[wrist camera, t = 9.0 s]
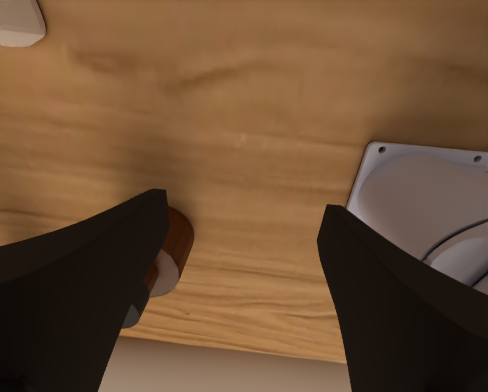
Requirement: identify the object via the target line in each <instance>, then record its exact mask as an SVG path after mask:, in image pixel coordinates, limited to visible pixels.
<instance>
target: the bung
mask: <svg viewBox="0 0 488 392" xmlns="http://www.w3.org/2000/svg"><path fill="white" fill-rule="evenodd" d="M149 298H150V293H149V290H148V288H147V286H146V285H145V284H144V283H143V282H142V284H141V286H140V287H139V289H138V291H137V293H136V295H135V297H134V300H133V302H132V304H131V307H130V309H129V311H128V314H127V316H126V318H125V321H124V323H123V326H122V328H121V329H124V328H130V327H132V326H134V325H136V324H137V323H138V321H139V319H140V317H141V315H142V313H143V311H144V309H145V306H146V304H147V302H148V300H149Z"/></svg>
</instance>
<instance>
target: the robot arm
mask: <svg viewBox="0 0 488 392" xmlns="http://www.w3.org/2000/svg"><path fill="white" fill-rule="evenodd" d="M380 147H383V150H382V151H380V152H378V150H379V148H380ZM476 156H477V158H476V159H475V160H473V159H474V158H475V157H476ZM169 228H170V222H169V213H168V203H167V194H166V190H161V189H151V190H148V191H146V192H143V193H141V194H139V195H137V196H135V197H133V198H131V199H129V200H127V201H125V202H123V203H121V204H119V205H117V206H115V207H113V208H111V209H108V210H106V211H104V212H102V213H100V214H97V215H95V216H93V217H91V218H88V219H86V220H83V221H81V222H78V223H76V224H73V225H70V226H67V227H65V228H62V229H59V230H56V231H53V232H50V233H46V234H43V235H40V236H36V237H33V238H30V239H26V240H23V241H19V242H15V243H11V244H8V245H4V246H0V392H98V389H99V386H100V384H101V381H102V378H103V375H104V372H105V369H106V367H107V364H108V361H109V359H110V356H111V353H112V351H113V348H114V345H115V343H116V340H117V338H118V335H119V333H120V331H121V328H122V326H123V323H124V321H125V318H126V316H127V314H128V311H129V309H130V307H131V304H132V302H133V300H134V297H135V295H136V293H137V291H138V289H139V287H140V286H141V284H142V282H143V280H144V278H145V277H146V275H147V273H148V271H149V270H150V268H151V266H152V264H153V263H154V261H155V259H156V257H157V255H158V254H159V252H160V250H161V248H162V246H163V244H164V242H165V239H166V236H167V234H168V231H169ZM317 245H318V251H319V257H320V261H321V265H322V268H323V271H324V274H325V277H326V280H327V284H328V287H329V290H330V293H331V296H332V299H333V302H334V305H335V309H336V312H337V316H338V320H339V325H340V330H341V334H342V339H343V344H344V349H345V355H346V360H347V365H348V371H349V377H350V383H351V389H352V392H488V152H483V151H473V150H462V149H451V148H440V147H430V146H419V145H408V144H397V143H386V142H371V143H370V144H369V145H368V146H367V148H366V151H365V154H364V157H363V160H362V163H361V166H360V169H359V171H358V174H357V177H356V180H355V183H354V186H353V189H352V192H351V195H350V198H349V201H348V204H347V207H346V208H344V207H343V206H341V205H330V204H327V205H326V209H325V213H324V216H323V220H322V223H321V227H320V230H319V234H318V238H317Z"/></svg>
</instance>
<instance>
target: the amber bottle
mask: <svg viewBox="0 0 488 392" xmlns="http://www.w3.org/2000/svg"><path fill="white" fill-rule="evenodd" d="M168 213H169V222H170V228H169V231H168V234H167V236H166V239H165V242H164V244H163V246H162V248H161V250H160V252H159V254H158V255H157V257H156V259H155V261H154V263H153V264H152V266H151V268H150V270H149V271H148V273H147V275H146V277H145V278H144V280H143V283H144V284H145V285H146V286H147V288H148V290H149V293H150V298H152V297H158V296H164V295H166V294H167V293H169V292H171V291H172V290H174V289H175V287H176V285H177V283H178V281H179V279H180V277H181V274H182V271H183V269H184V266H185V264H186V261H187V258H188V256H189V253H190V251H191V248H192V245H193V241H194V232H193V228H192V226H191V224H190V222H189V221H188V220H187V218H186V217H185V216H184V215H183V214H181V213H180V212H179V211H177V210H176V209H174V208H172V207H169V206H168Z"/></svg>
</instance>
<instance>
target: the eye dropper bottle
mask: <svg viewBox="0 0 488 392" xmlns="http://www.w3.org/2000/svg"><path fill="white" fill-rule="evenodd" d="M45 34H46V27H45V23H44V20H43V17H42V14H41V11H40V9H39V6H38V4H37V2H36V0H0V46H12V47H28V46H30V45H32V44H34V43H35V42H37V41H39V40H40V39H42V38H43V37H44V36H45Z"/></svg>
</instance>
